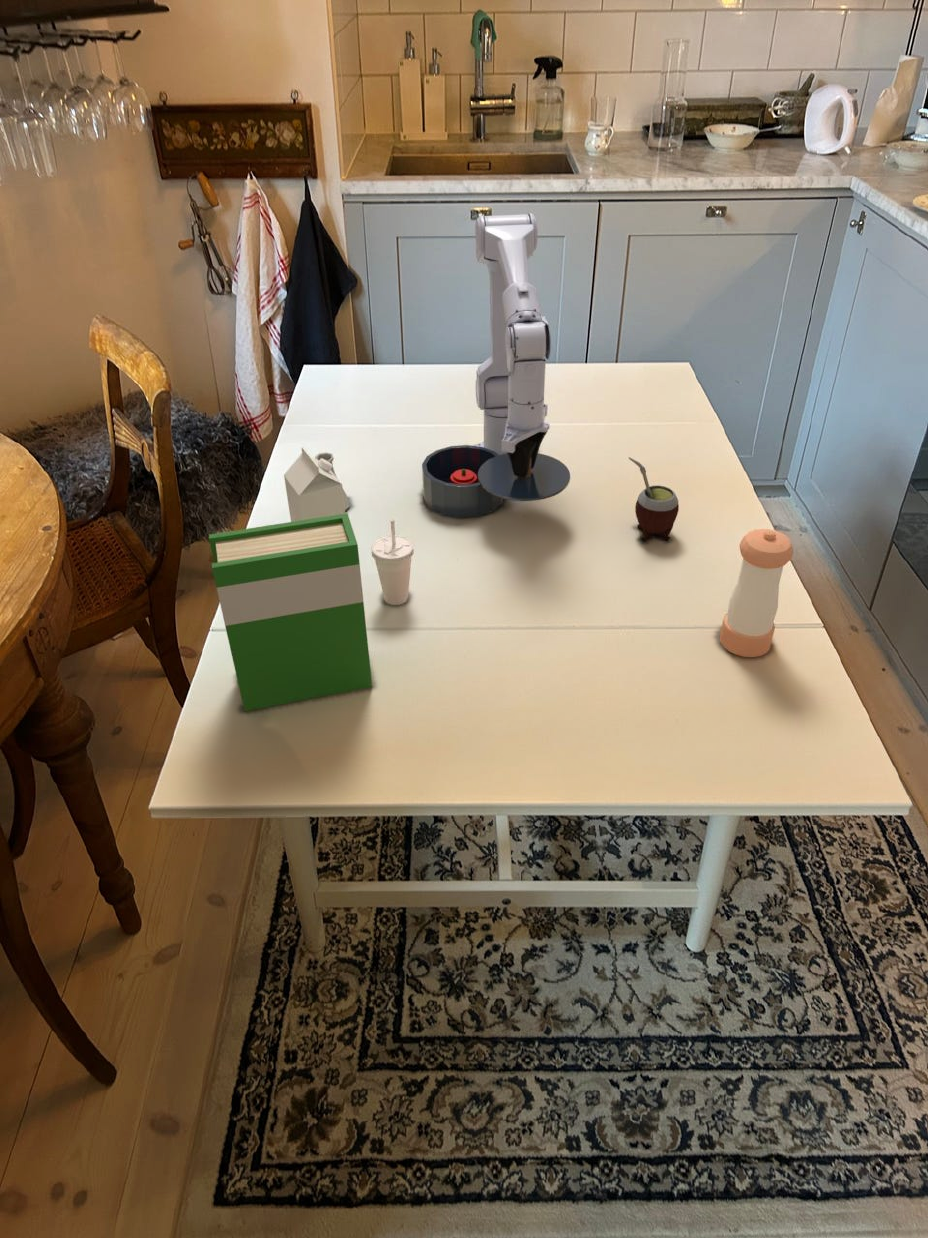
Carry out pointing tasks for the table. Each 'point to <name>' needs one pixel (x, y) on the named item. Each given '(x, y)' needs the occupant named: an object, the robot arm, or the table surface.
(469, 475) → the red pepper
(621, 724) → the table surface
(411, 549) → the smoothie
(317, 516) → the milk carton
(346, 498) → the flask
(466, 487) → the pot
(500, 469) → the lid
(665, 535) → the mate gourd
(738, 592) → the pepper shaker
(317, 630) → the hardback book
